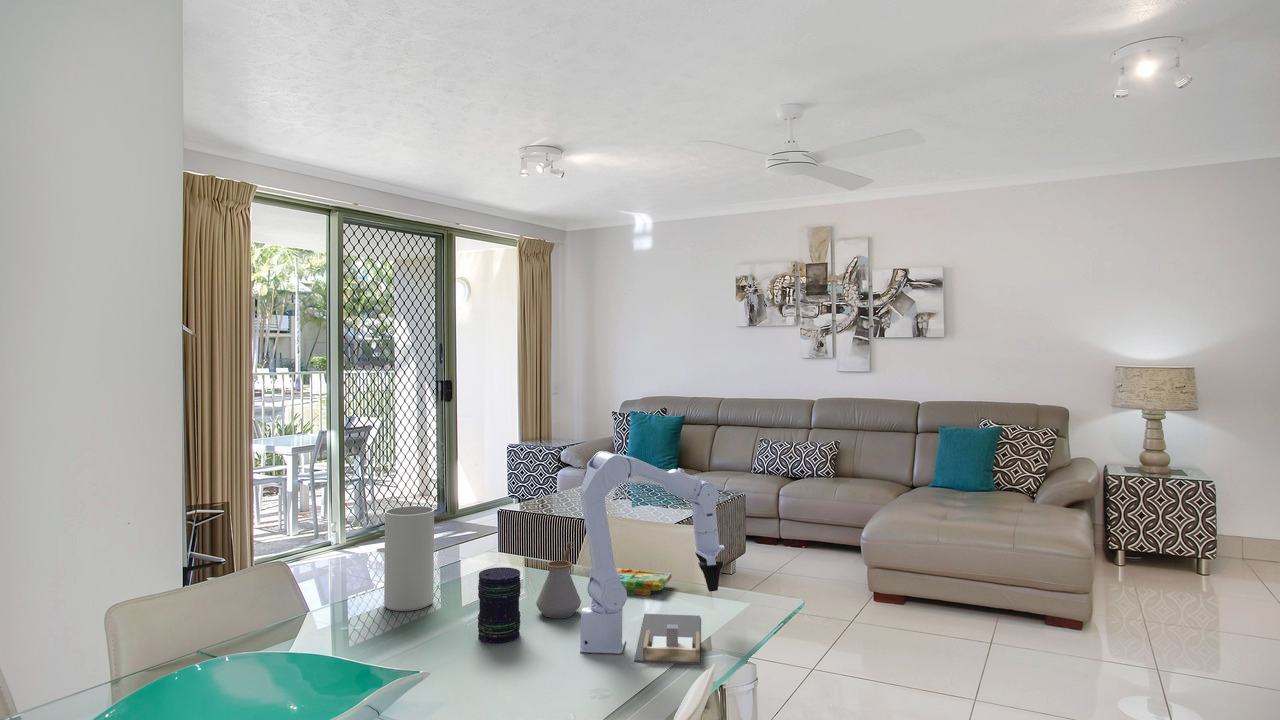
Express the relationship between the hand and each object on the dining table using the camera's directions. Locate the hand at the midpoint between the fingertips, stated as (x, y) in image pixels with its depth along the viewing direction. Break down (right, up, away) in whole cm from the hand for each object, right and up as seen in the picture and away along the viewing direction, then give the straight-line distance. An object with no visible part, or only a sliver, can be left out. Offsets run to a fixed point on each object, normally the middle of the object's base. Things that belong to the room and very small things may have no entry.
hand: (711, 585), depth 178 cm
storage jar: (-51, -11, -5) cm, 52 cm away
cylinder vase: (-79, -11, +17) cm, 81 cm away
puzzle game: (-19, -12, +33) cm, 40 cm away
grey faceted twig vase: (-38, -11, +16) cm, 42 cm away
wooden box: (-10, -11, -13) cm, 20 cm away
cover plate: (-10, -10, -13) cm, 20 cm away
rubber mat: (-10, -11, -5) cm, 16 cm away
